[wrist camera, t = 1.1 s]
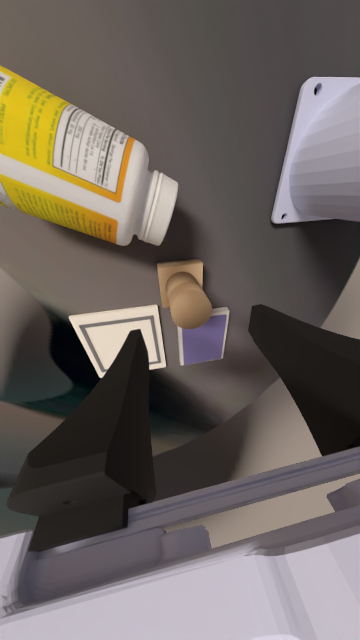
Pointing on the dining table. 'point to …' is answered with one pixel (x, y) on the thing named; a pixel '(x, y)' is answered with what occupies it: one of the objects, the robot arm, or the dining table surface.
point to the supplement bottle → (77, 168)
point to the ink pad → (204, 339)
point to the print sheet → (119, 334)
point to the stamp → (184, 292)
